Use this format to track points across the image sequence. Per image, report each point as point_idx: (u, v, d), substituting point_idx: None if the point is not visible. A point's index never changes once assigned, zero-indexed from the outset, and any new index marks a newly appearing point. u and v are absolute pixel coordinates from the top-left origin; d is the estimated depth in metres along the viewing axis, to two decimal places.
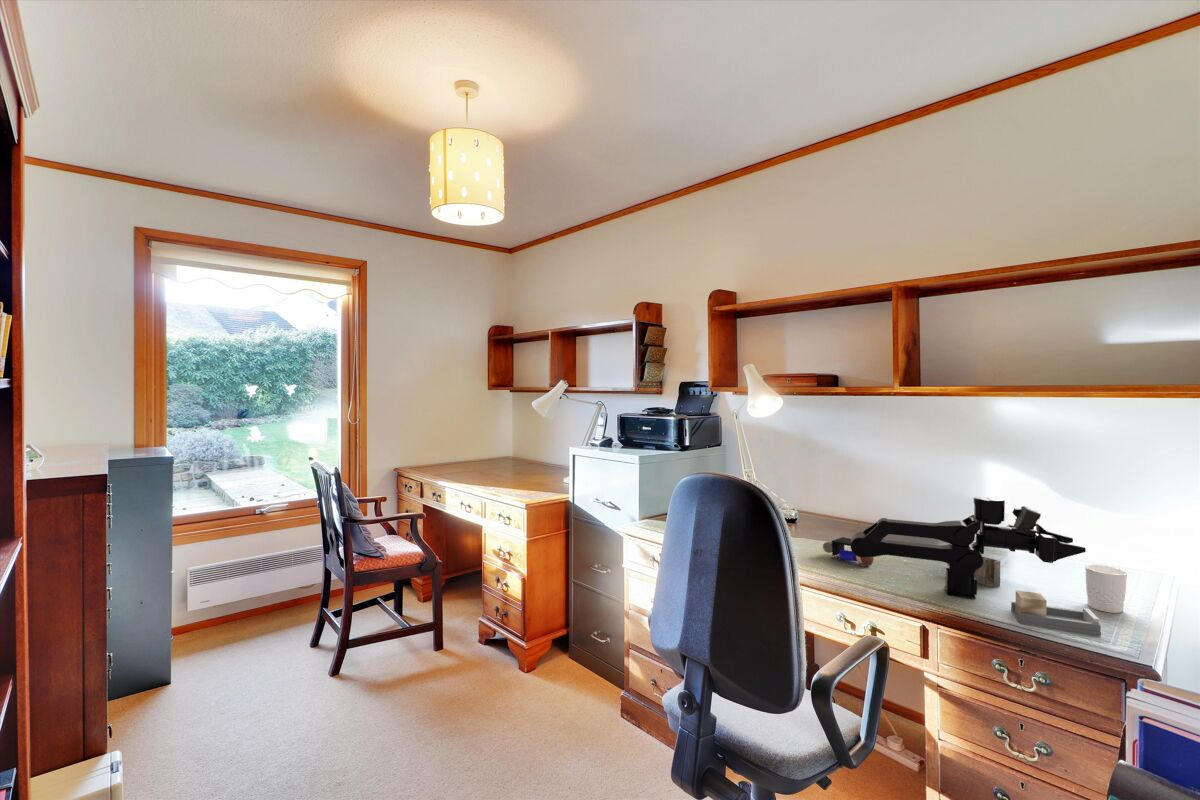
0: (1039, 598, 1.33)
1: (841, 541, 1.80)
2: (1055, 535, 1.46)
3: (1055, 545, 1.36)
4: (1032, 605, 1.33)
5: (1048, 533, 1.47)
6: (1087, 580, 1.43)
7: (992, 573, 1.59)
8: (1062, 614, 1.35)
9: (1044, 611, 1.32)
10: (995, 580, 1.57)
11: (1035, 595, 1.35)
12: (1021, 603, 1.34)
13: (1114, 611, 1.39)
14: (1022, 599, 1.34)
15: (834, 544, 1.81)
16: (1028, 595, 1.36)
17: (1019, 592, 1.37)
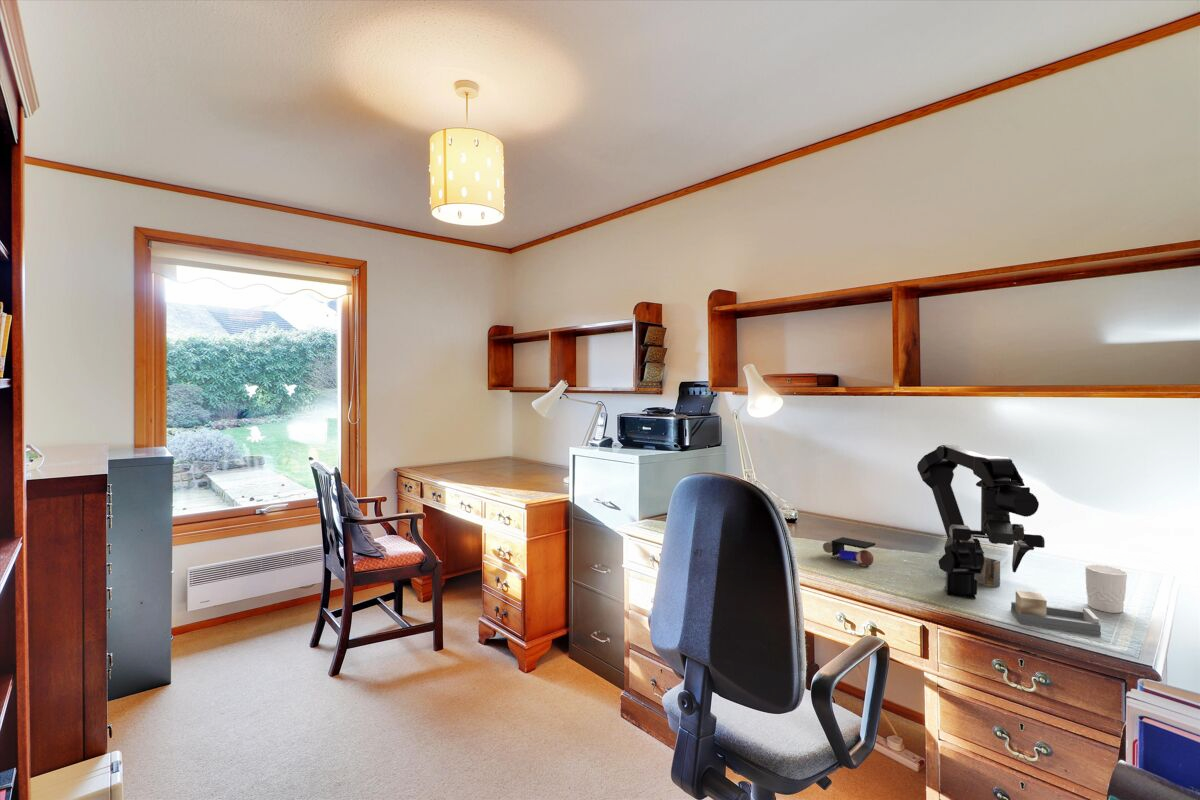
0: (1039, 598, 1.33)
1: (841, 541, 1.80)
2: (1015, 558, 1.36)
3: (960, 541, 1.40)
4: (1032, 605, 1.33)
5: (1016, 553, 1.35)
6: (1087, 580, 1.43)
7: (991, 573, 1.59)
8: (1062, 614, 1.35)
9: (1044, 611, 1.32)
10: (995, 580, 1.57)
11: (1035, 595, 1.35)
12: (1021, 603, 1.34)
13: (1114, 611, 1.39)
14: (1022, 599, 1.34)
15: (834, 544, 1.81)
16: (1028, 595, 1.36)
17: (1019, 592, 1.37)
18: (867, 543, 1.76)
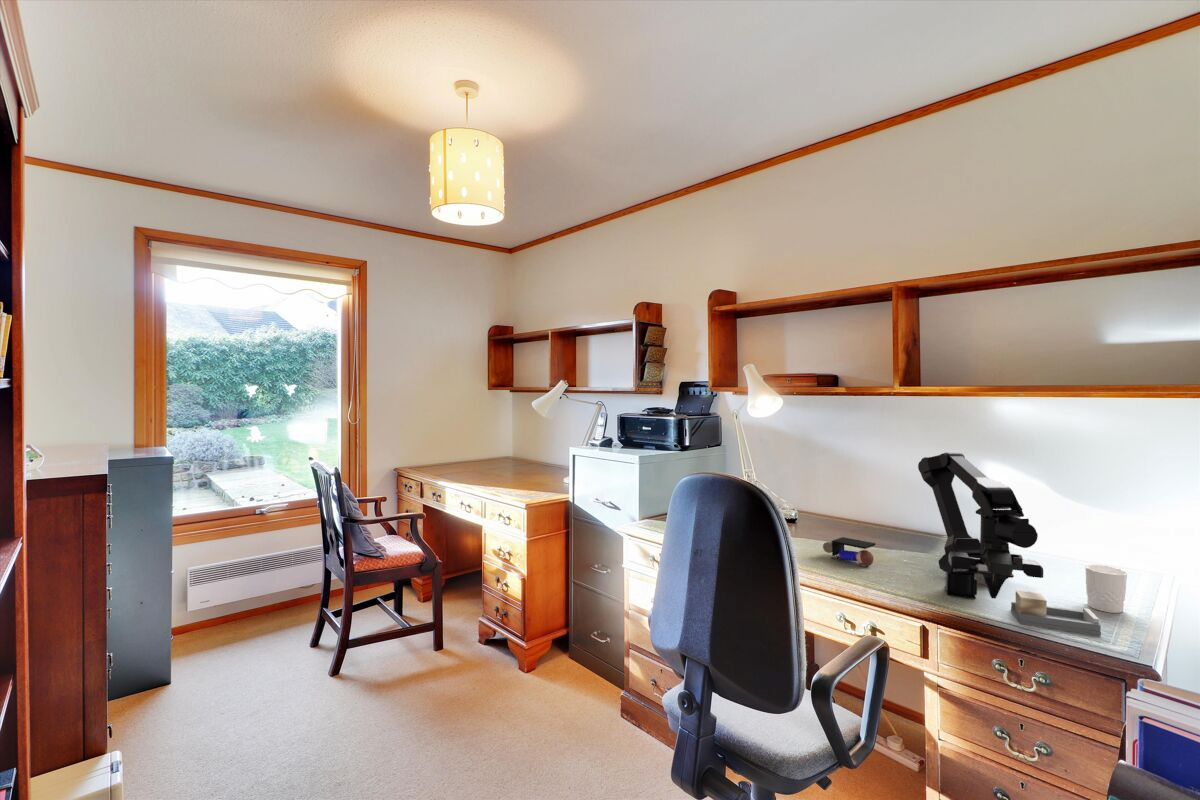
0: (1039, 598, 1.33)
1: (841, 541, 1.80)
2: (995, 585, 1.38)
3: (977, 570, 1.39)
4: (1032, 605, 1.33)
5: (997, 579, 1.37)
6: (1087, 580, 1.43)
7: None
8: (1062, 614, 1.35)
9: (1044, 611, 1.32)
10: None
11: (1035, 595, 1.35)
12: (1021, 603, 1.34)
13: (1114, 611, 1.39)
14: (1022, 599, 1.34)
15: (834, 544, 1.81)
16: (1028, 595, 1.36)
17: (1019, 592, 1.37)
18: (867, 543, 1.76)
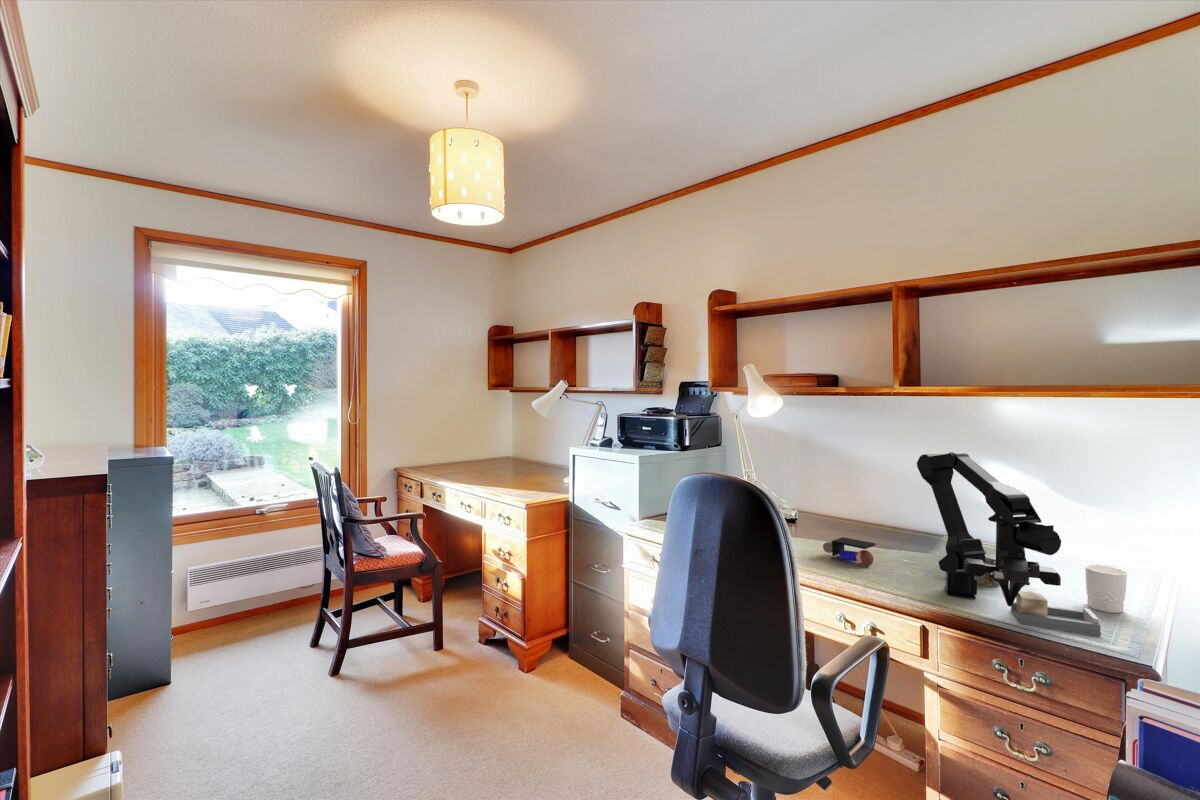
0: (1040, 598, 1.33)
1: (841, 541, 1.80)
2: (1011, 592, 1.36)
3: None
4: (1033, 605, 1.33)
5: (1013, 587, 1.36)
6: (1087, 580, 1.43)
7: None
8: (1062, 614, 1.35)
9: (1045, 611, 1.32)
10: None
11: (1036, 595, 1.35)
12: (1022, 603, 1.34)
13: (1114, 611, 1.39)
14: (1023, 599, 1.34)
15: (834, 544, 1.81)
16: (1029, 595, 1.36)
17: (1020, 592, 1.37)
18: (867, 543, 1.76)
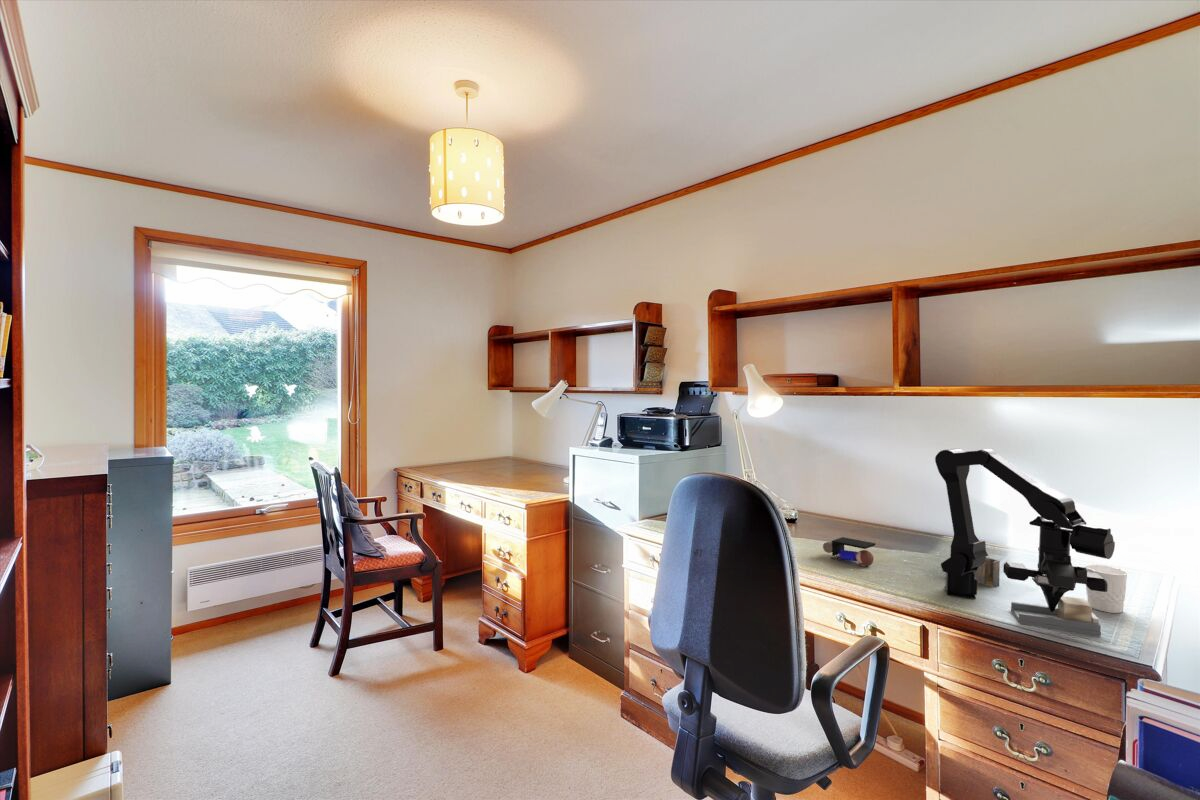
0: (1084, 604, 1.30)
1: (841, 541, 1.80)
2: (1053, 597, 1.33)
3: (1036, 582, 1.34)
4: (1077, 611, 1.30)
5: (1055, 592, 1.32)
6: None
7: (991, 572, 1.59)
8: None
9: (1089, 617, 1.29)
10: (994, 580, 1.57)
11: (1079, 600, 1.32)
12: (1065, 609, 1.31)
13: (1114, 611, 1.39)
14: (1066, 605, 1.30)
15: (834, 544, 1.81)
16: (1072, 600, 1.32)
17: (1062, 597, 1.34)
18: (867, 543, 1.76)
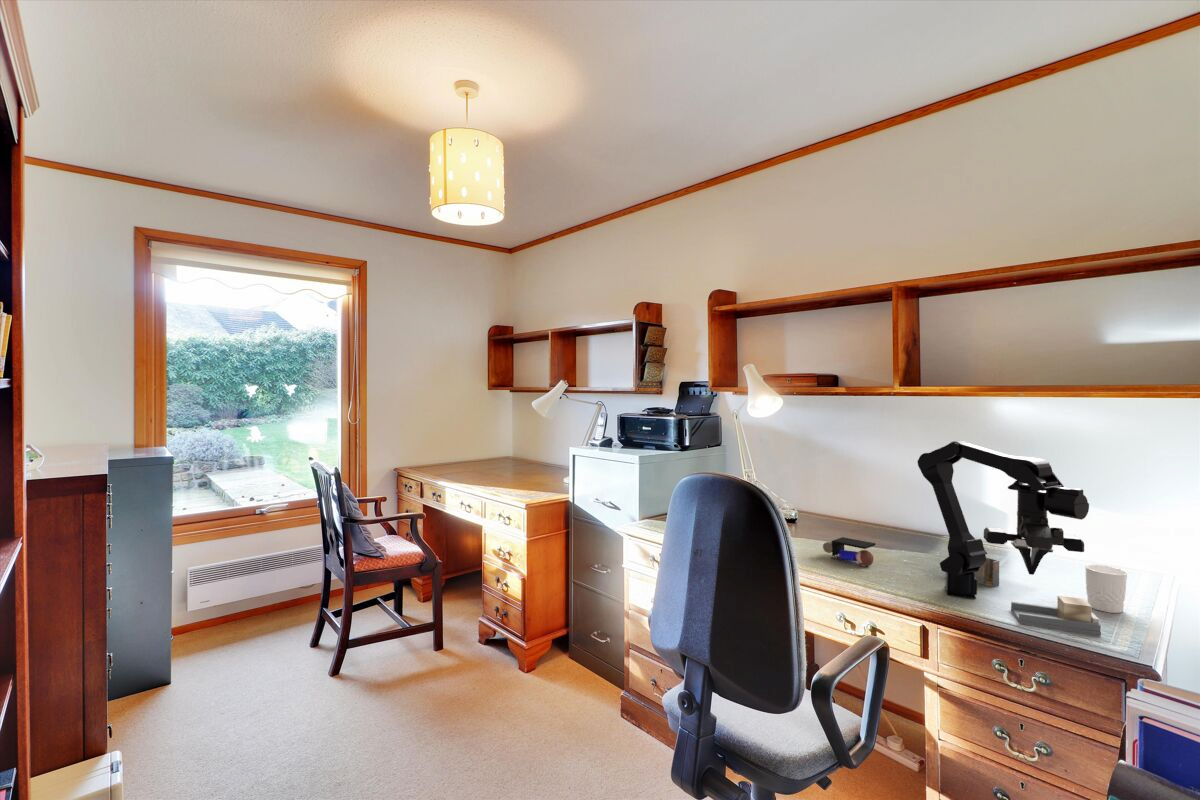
0: (1083, 604, 1.30)
1: (841, 541, 1.80)
2: (1033, 560, 1.35)
3: (1014, 546, 1.36)
4: (1077, 611, 1.30)
5: (1035, 555, 1.34)
6: (1087, 580, 1.43)
7: (990, 572, 1.59)
8: None
9: (1089, 617, 1.29)
10: (994, 580, 1.57)
11: (1078, 600, 1.32)
12: (1065, 609, 1.31)
13: (1114, 611, 1.39)
14: (1066, 605, 1.30)
15: (834, 544, 1.81)
16: (1071, 600, 1.32)
17: (1061, 597, 1.34)
18: (867, 543, 1.76)
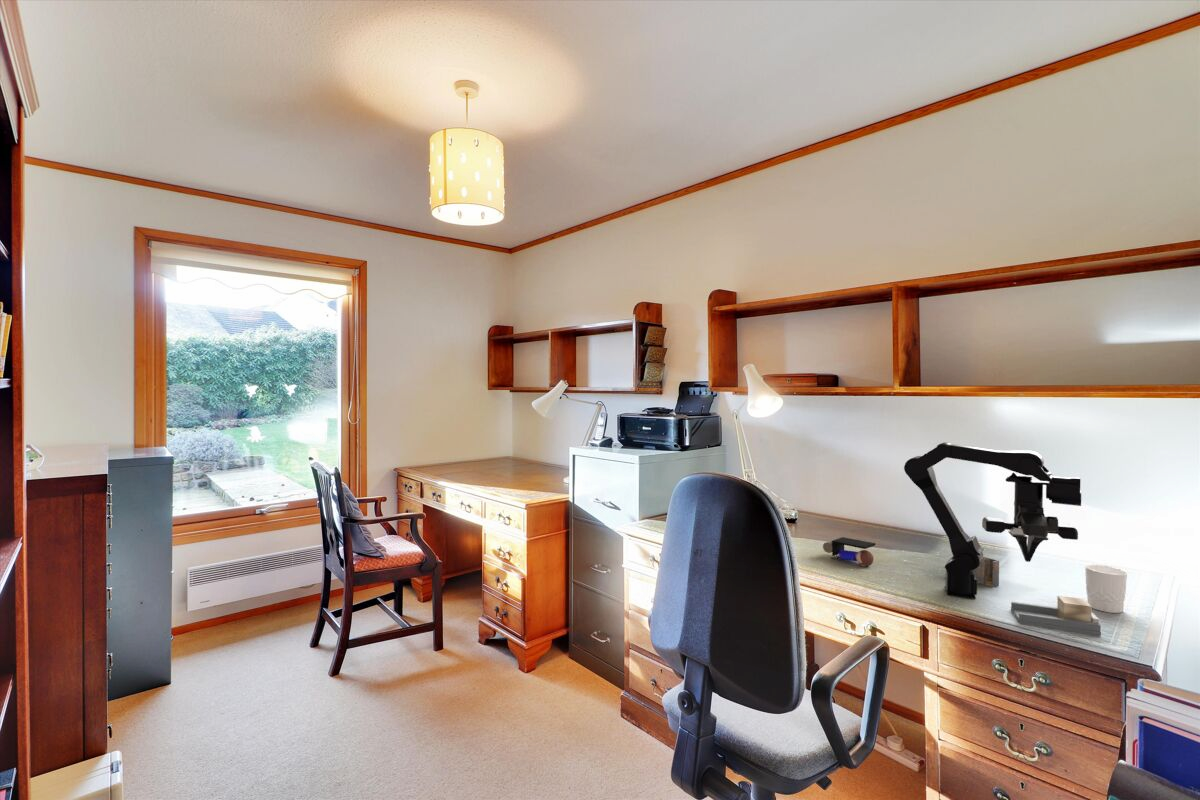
0: (1083, 604, 1.30)
1: (841, 541, 1.80)
2: (1030, 548, 1.41)
3: (1011, 534, 1.42)
4: (1077, 611, 1.30)
5: (1031, 543, 1.41)
6: (1087, 580, 1.43)
7: (990, 572, 1.59)
8: None
9: (1089, 617, 1.29)
10: (994, 580, 1.57)
11: (1078, 600, 1.32)
12: (1065, 609, 1.31)
13: (1114, 611, 1.39)
14: (1066, 605, 1.30)
15: (834, 544, 1.81)
16: (1071, 600, 1.32)
17: (1061, 597, 1.34)
18: (867, 543, 1.76)
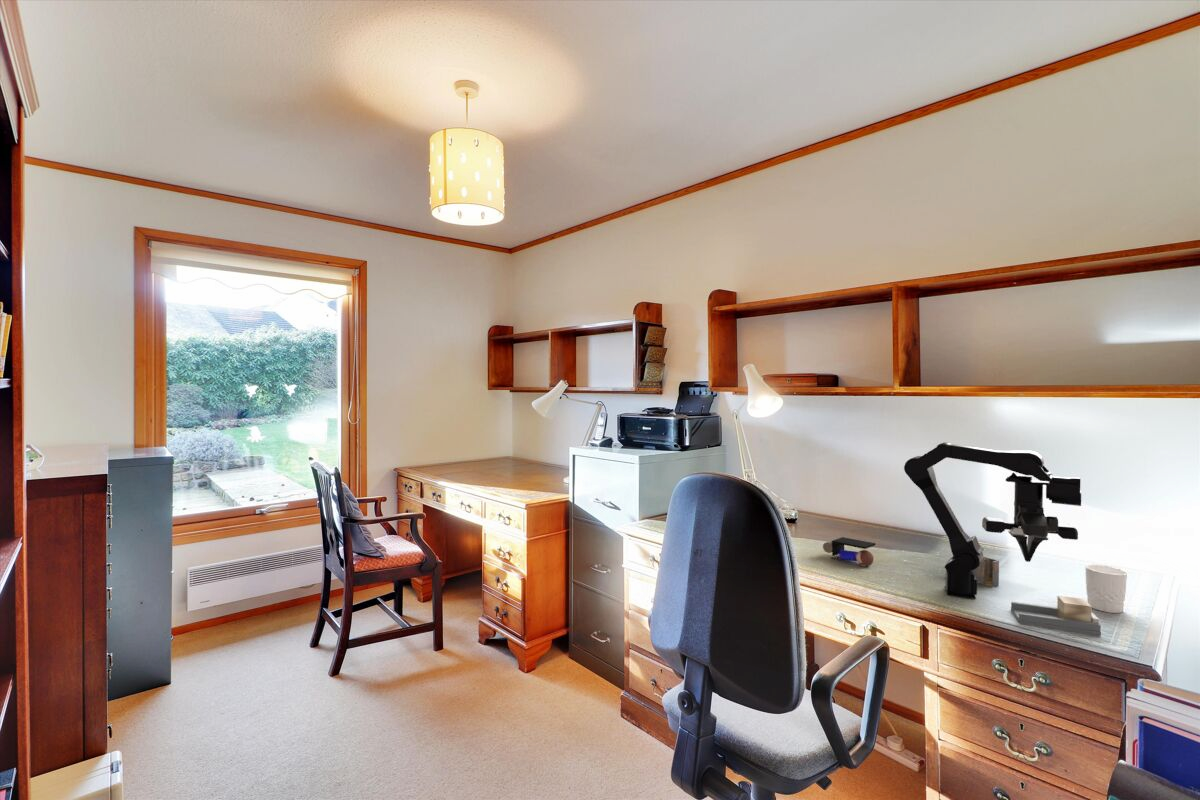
0: (1083, 604, 1.30)
1: (841, 541, 1.80)
2: (1030, 548, 1.41)
3: (1011, 534, 1.42)
4: (1077, 611, 1.30)
5: (1031, 543, 1.41)
6: (1087, 580, 1.43)
7: (990, 572, 1.59)
8: None
9: (1089, 617, 1.29)
10: (994, 580, 1.57)
11: (1078, 600, 1.32)
12: (1065, 609, 1.31)
13: (1114, 611, 1.39)
14: (1066, 605, 1.30)
15: (834, 544, 1.81)
16: (1071, 600, 1.32)
17: (1061, 597, 1.34)
18: (867, 543, 1.76)
